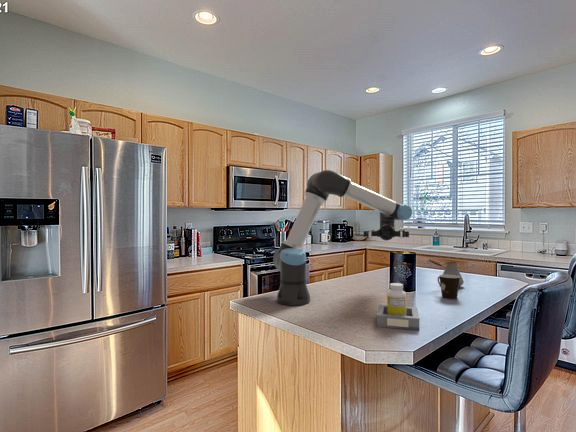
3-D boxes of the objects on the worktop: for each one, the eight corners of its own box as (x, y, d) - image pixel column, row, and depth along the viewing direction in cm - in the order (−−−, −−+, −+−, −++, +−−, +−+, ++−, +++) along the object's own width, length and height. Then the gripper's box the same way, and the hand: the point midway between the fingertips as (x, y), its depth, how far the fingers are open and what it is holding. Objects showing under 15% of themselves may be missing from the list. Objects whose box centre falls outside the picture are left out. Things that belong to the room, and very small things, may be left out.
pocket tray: (376, 326, 118) (376, 315, 118) (378, 314, 132) (378, 304, 132) (419, 330, 114) (419, 318, 114) (417, 318, 128) (416, 307, 128)
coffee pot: (451, 283, 188) (451, 256, 188) (468, 287, 178) (468, 259, 178) (420, 286, 181) (420, 258, 181) (436, 291, 171) (436, 261, 170)
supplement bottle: (391, 315, 128) (391, 281, 128) (409, 318, 124) (408, 283, 124) (384, 319, 123) (384, 284, 123) (402, 323, 119) (402, 287, 118)
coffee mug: (462, 300, 152) (462, 278, 152) (441, 299, 154) (441, 277, 154) (454, 294, 164) (454, 273, 164) (436, 293, 165) (435, 273, 165)
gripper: (413, 240, 165) (415, 244, 145) (361, 239, 173) (356, 243, 153) (413, 225, 165) (415, 226, 145) (361, 224, 173) (356, 226, 153)
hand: (385, 235), depth 149 cm, fingers open, 13 cm apart
